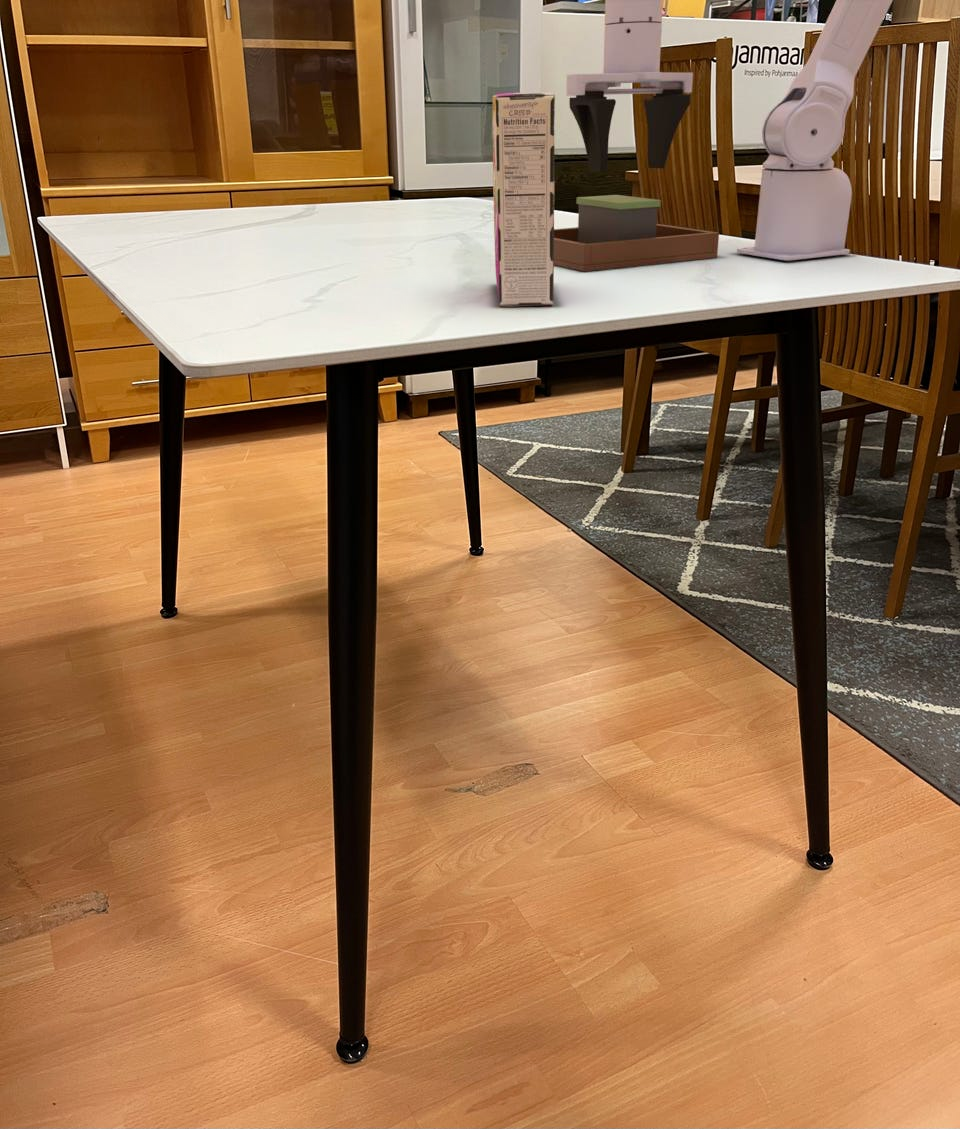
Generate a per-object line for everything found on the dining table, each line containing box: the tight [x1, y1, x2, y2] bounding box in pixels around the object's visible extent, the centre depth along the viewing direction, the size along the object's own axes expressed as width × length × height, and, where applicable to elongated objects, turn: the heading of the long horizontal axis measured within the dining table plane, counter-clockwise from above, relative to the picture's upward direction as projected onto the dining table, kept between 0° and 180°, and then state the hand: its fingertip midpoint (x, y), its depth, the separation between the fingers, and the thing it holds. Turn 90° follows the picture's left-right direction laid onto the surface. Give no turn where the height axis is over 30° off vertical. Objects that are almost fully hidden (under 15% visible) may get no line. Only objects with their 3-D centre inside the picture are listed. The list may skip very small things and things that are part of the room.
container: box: [575, 194, 662, 244], centre depth 106 cm, size 5×8×6 cm, turn 26°
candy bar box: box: [492, 92, 556, 308], centre depth 83 cm, size 11×5×16 cm, turn 0°
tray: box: [554, 223, 720, 273], centre depth 107 cm, size 18×14×3 cm
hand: (627, 169), depth 103 cm, fingers open, 7 cm apart
